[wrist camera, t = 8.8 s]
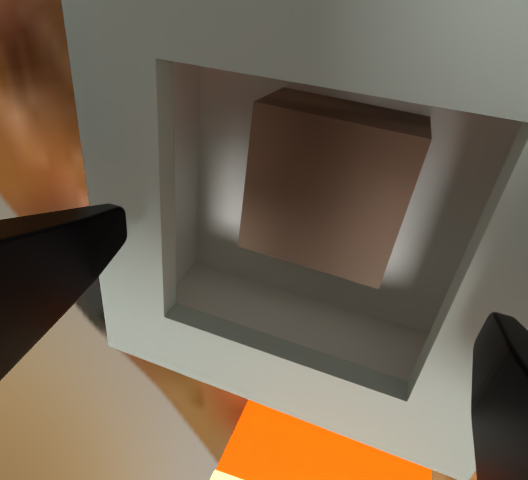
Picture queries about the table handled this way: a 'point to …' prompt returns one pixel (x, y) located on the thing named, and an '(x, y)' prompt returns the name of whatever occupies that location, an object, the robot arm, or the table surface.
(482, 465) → the robot arm
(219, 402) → the table surface
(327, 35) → the slot box
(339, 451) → the orange juice
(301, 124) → the brown square block
